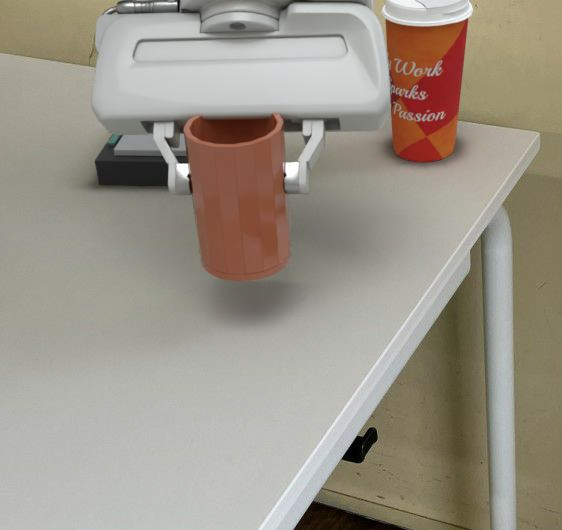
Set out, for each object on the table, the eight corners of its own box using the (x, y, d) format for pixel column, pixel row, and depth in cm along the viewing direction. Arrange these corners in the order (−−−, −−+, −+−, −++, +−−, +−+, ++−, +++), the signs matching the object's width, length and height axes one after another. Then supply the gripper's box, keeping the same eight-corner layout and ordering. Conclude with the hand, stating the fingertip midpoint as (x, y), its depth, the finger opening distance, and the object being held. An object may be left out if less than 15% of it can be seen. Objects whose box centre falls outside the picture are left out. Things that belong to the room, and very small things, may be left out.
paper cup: (364, 150, 94) (362, -3, 85) (420, 123, 97) (423, -26, 89) (428, 176, 89) (432, 16, 80) (484, 146, 93) (494, -9, 84)
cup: (191, 279, 69) (173, 145, 63) (211, 232, 74) (196, 103, 68) (283, 283, 68) (273, 147, 62) (297, 235, 73) (289, 104, 67)
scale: (98, 184, 92) (92, 154, 90) (134, 128, 101) (130, 99, 99) (227, 186, 90) (223, 155, 88) (252, 129, 99) (249, 99, 97)
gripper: (83, -22, 67) (73, 179, 66) (392, -32, 65) (389, 176, 63) (109, 22, 73) (101, 207, 72) (391, 14, 71) (389, 204, 70)
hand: (238, 192), depth 68 cm, fingers closed on cup, 6 cm apart
